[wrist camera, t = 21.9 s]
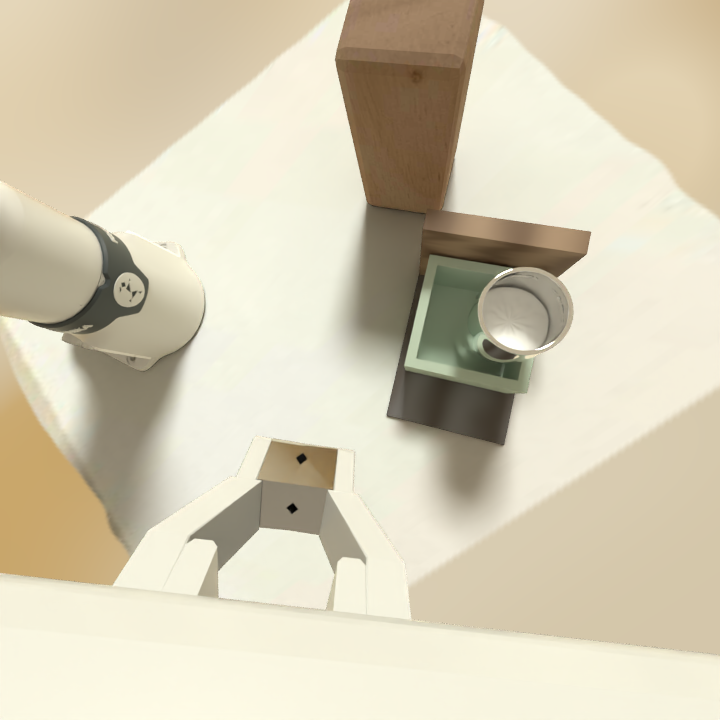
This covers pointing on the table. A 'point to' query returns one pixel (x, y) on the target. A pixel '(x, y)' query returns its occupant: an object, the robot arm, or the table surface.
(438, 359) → the sage green storage bin
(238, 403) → the table surface
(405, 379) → the box
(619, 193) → the table surface
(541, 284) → the beer glass
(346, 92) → the wooden block
